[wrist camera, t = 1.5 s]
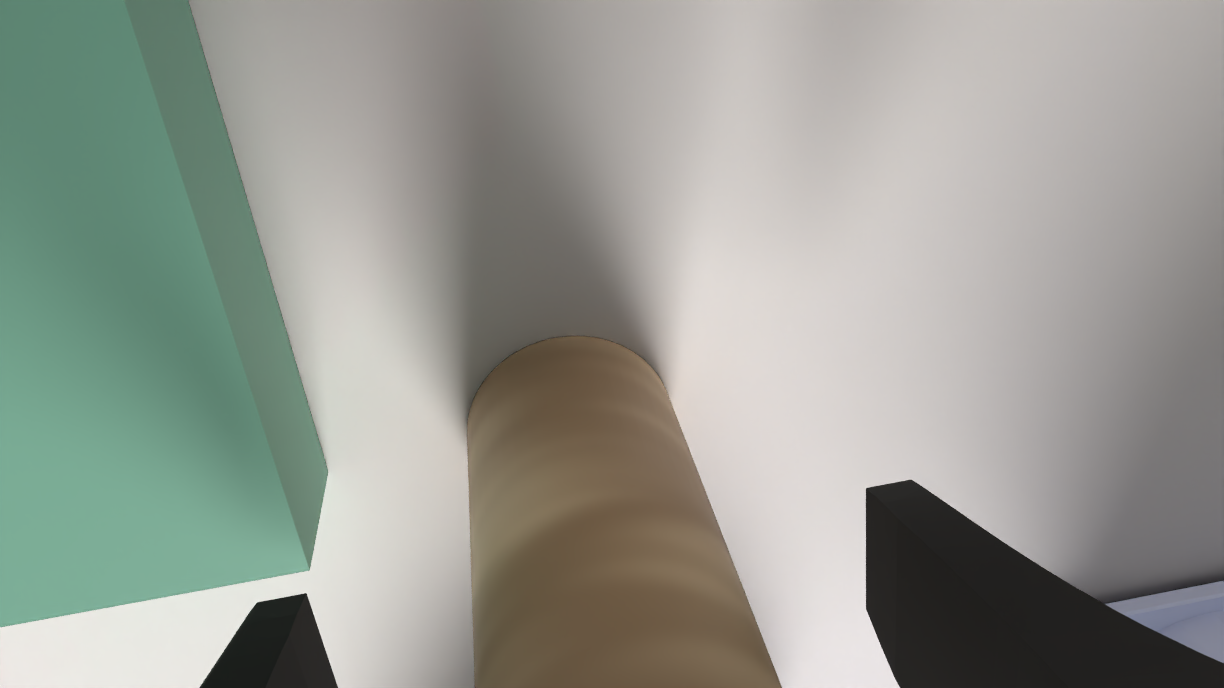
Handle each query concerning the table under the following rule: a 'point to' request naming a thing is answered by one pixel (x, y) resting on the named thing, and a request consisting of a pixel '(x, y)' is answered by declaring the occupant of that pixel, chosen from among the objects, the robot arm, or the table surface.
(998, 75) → the table surface
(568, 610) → the dowel
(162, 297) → the socket block
